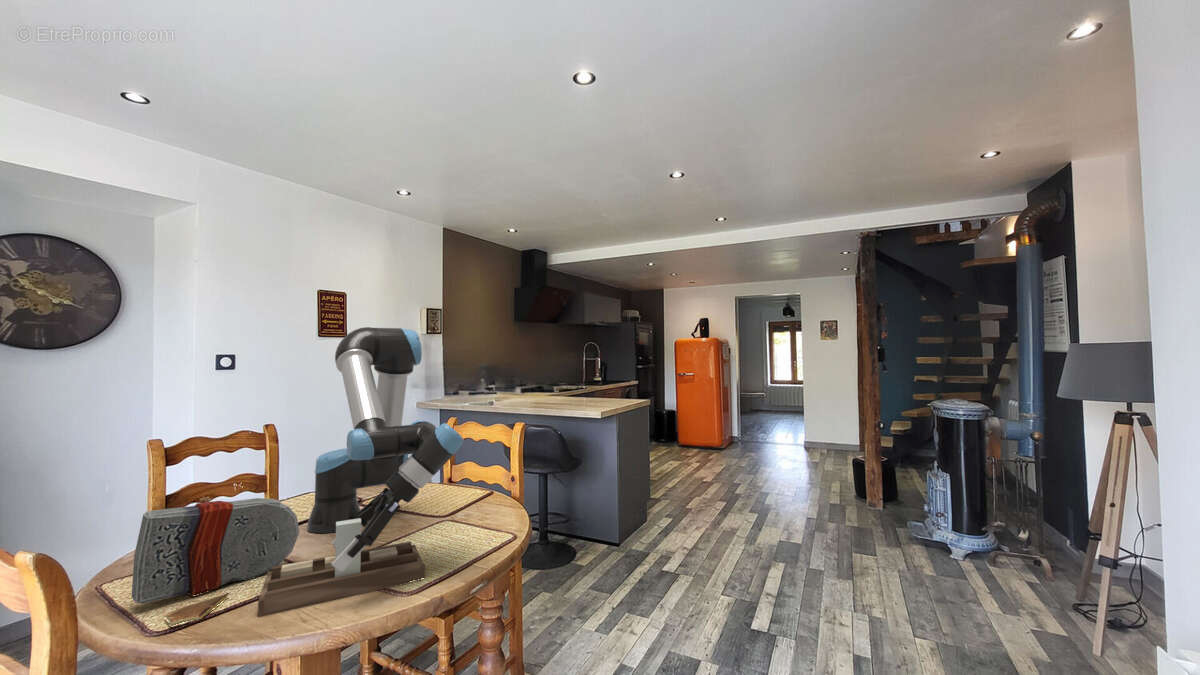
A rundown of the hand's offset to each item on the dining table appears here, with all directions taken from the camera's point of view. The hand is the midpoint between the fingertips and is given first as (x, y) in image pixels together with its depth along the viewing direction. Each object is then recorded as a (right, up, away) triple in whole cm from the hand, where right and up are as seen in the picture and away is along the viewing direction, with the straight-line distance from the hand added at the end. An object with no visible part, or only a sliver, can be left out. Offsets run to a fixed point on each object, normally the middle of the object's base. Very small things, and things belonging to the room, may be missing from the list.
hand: (336, 556), depth 105 cm
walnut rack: (0, -8, +5) cm, 9 cm away
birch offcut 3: (+6, -8, +11) cm, 15 cm away
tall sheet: (+2, -8, +1) cm, 8 cm away
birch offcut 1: (-10, -8, +2) cm, 13 cm away
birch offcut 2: (-2, -8, +6) cm, 11 cm away
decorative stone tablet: (-28, -8, +4) cm, 30 cm away
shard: (-25, -8, -9) cm, 28 cm away
